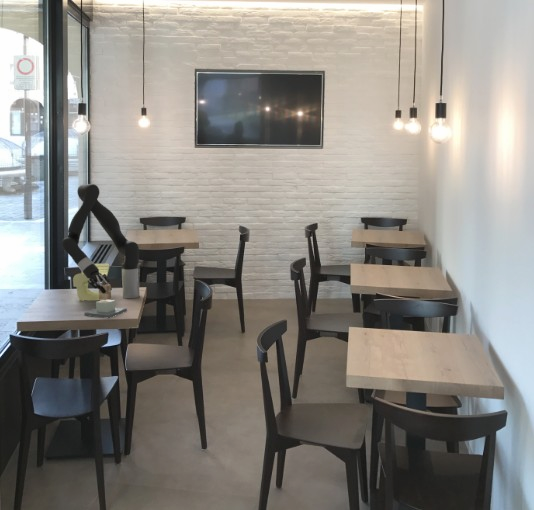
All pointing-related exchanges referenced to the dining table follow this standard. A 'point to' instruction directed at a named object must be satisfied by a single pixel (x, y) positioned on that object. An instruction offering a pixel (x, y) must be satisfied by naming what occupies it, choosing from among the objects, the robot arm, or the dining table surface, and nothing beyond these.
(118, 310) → the tower board
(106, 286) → the oak block
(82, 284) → the slatted curved stool
